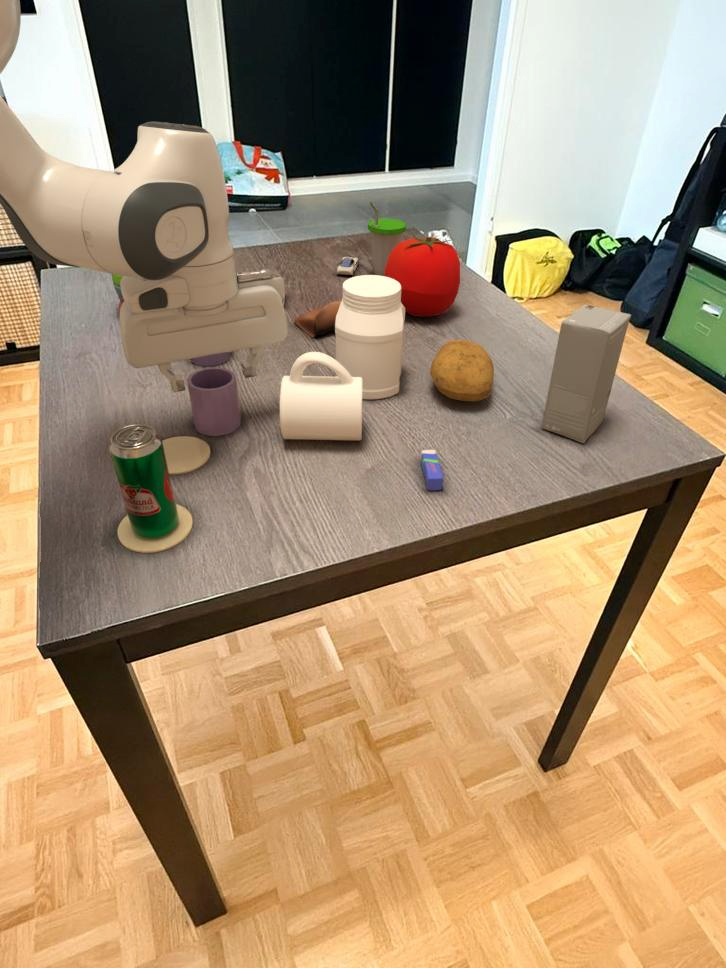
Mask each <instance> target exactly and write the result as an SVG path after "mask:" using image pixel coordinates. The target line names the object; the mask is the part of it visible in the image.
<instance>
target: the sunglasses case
mask: <svg viewBox="0 0 726 968" xmlns="http://www.w3.org/2000/svg"><path fill="white" fill-rule="evenodd" d="M341 301H342V298H339V299H337V300H335V301H330V302H329V303H327V304H326V305H324V306H321V307H318V308H315V309H312V310H309V311H308V312H304V313H302V314H301V315H299V316H297V317H296V318H295V319H294V324H295V325H296V326H297V327H298V328H299V329H300V330H302V331H303V332H304V333H305V334H307V335H308V337H309V336H310V337H311V338H315V337H316V336H319V335H323V334H325V333H329V332H332V331H335V321H336V315H337V313H338V310H339V307H340V304H341Z"/></svg>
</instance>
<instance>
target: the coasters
mask: <svg viewBox="0 0 726 968" xmlns="http://www.w3.org/2000/svg"><path fill="white" fill-rule="evenodd" d="M162 443H163V447H164V452H165V456H166V461H167V466H168V470H169V475H172V476H173V475H174V476H175V475H183V474H188V473H191V472H193V471H195V470H198V469H200V468H201V467H203V466H204V465H205V464H206V463H208V460H209V459H210V457H211V453H212V452H211V447H210V445H209V444H208V443H207V442H206V441H205V440H203V439H201V438H199V437H194V436H188V435H187V436H186V435H185V436H184V435H181V436H173V437H169V438H166V439H163V440H162ZM176 507H177V512H178V516H179V521H178V524H177V525H176V527H175V528H174V529H173V530H172V531H171V532H170V533H169V534H167V535H165V536H163V537H160V538H154V539H149V538H144V537H141V536H139V535H137V534H135V533H134V532H133V530H132V528H131V525H130V521H129V518H128V514H126V515H125V516H124V517H123V519H122V520H121V521H120V523H119V525H118V528H117V537H118V540H119V542H120V544H121V545H122V546H123V547H124V548H126V549H127V550H130V551H133V552H136V553H141V554H153V553H159V552H164V551H166V550H169V549H172V548H174V547H175V546H178V545H179V544H180V543H182V542H183V541H184V540H185V539H186V538H187V537H188V536H189V535H190V533H191V531H192V529H193V526H194V525H193V524H194V522H193V521H194V520H193V517H192V514H191V512H190V511H189V510H188V509H187V508H185V507H184V506H183V505H180V504H178V503H176Z"/></svg>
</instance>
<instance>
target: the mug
mask: <svg viewBox="0 0 726 968" xmlns="http://www.w3.org/2000/svg"><path fill="white" fill-rule="evenodd" d="M311 364H321V365H324V366H326V367H327V368H328V369H330V370H331V371H333V372H334V374H335V375H336V374H337V375H338V377H336V376H328V375H327V376H326V375H324V376H323V375H304V371H305V369H306V368H307V367H308V366H309V365H311ZM362 393H363V379H362V378H361V377H351V375H350V374H349V372H348V371H347V370H346V369H345V368H344V367H343V366H342V365H341V364H340V363H339V362H338V361H336V358H333V357H332V356H330V355H329V354H327V353H324V352H321V351H309V352H306V353H303V354H301V355H300V356H298V357H297V359H296V360H295V361H294V362H293V364H292V366H291V369H290V372H289V375H283V376H282V378H281V382H280V391H279V427H280V433H281V434H280V435H281V437H282V438H283V440H307V441H309V440H311V441H315V440H317V441H361V440H362V437H363V436H362V435H363V433H362V432H363V399H362Z"/></svg>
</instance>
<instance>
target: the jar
mask: <svg viewBox="0 0 726 968" xmlns="http://www.w3.org/2000/svg"><path fill="white" fill-rule="evenodd" d="M341 294H342V297H341V299H342V301H341V304H340V307H339V310H338V313H337V315H336V321H335V329H334V333H335V360H336V361H338V362H339V363H340V364H341V365H342V366H343V367H344V368H345V369H346V370H347V371H348V372H349V374H350V375H351V377H361V378H362V379H363V393H362V400H380V399H381V400H382V399H386V398H390V397H393V396H395V395H396V394H397V395H398V394H399V393H400V385H401V384H400V377H401V375H402V367H403V366H402V360H403V359H402V358H403V343H404V329H405V319H406V312H405V307H404V306H403V305H402V303H401V285H400V283H399V282H398V281H396V280H394V279H392V278H389V277H385V276H379V275H374V274H362V275H356V276H352V277H349V278H347V279H346V280H345V281H343V283H342V293H341ZM335 377H338V375H337V374H336V373H335Z"/></svg>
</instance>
